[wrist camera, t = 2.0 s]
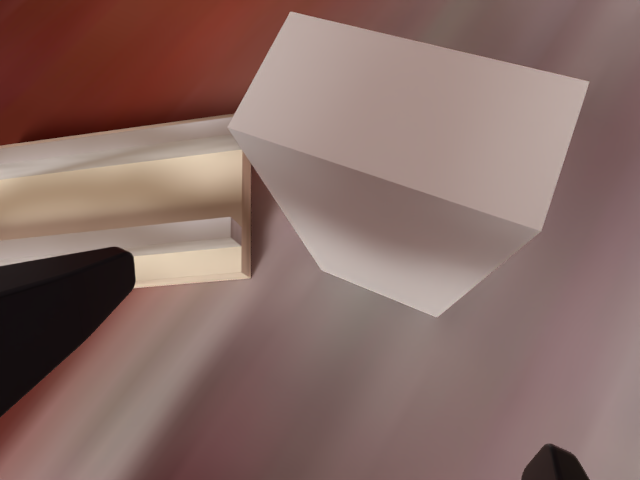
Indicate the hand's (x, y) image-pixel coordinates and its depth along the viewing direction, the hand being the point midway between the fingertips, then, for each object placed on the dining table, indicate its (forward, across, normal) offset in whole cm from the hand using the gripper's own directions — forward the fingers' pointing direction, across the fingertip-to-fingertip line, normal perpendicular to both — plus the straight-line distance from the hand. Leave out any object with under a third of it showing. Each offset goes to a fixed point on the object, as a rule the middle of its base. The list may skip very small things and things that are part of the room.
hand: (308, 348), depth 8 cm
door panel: (+11, 0, +5) cm, 12 cm away
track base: (+9, +15, +7) cm, 19 cm away
